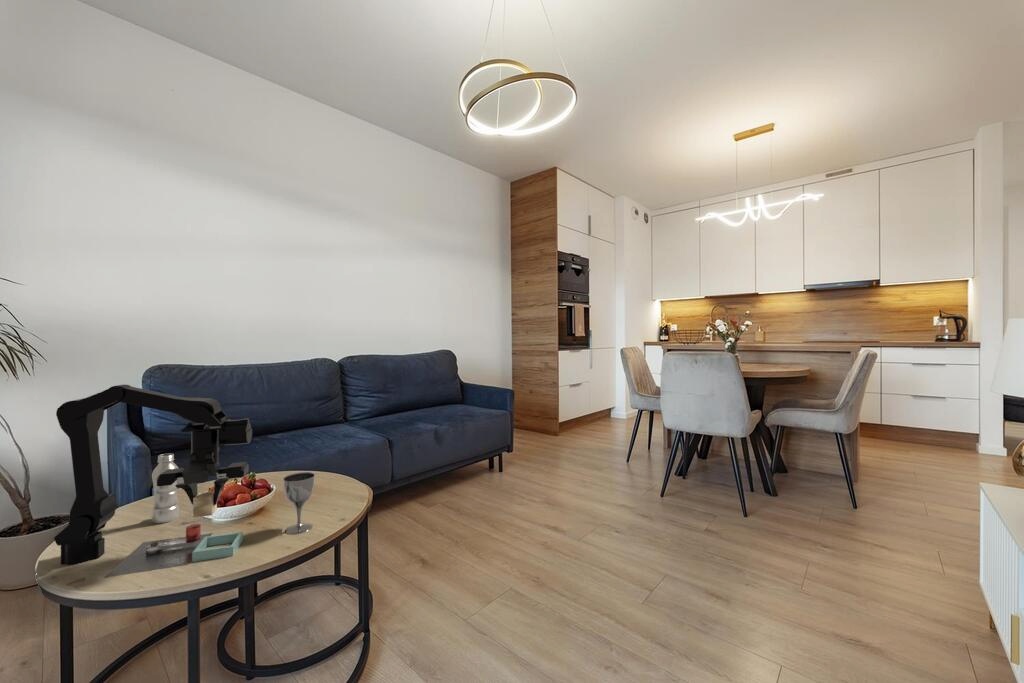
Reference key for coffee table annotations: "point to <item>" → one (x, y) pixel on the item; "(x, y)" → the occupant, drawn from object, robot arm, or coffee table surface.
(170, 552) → the bedplate
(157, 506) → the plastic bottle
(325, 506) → the coffee table surface
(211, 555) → the tray
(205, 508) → the block
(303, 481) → the wine glass
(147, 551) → the crank
